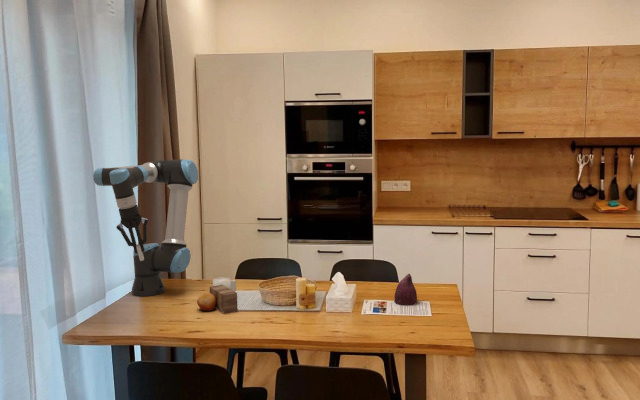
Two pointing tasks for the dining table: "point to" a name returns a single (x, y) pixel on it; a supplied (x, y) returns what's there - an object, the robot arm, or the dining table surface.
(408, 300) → the vegetable
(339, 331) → the dining table surface
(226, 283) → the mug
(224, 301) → the brown wooden block
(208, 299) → the fruit
